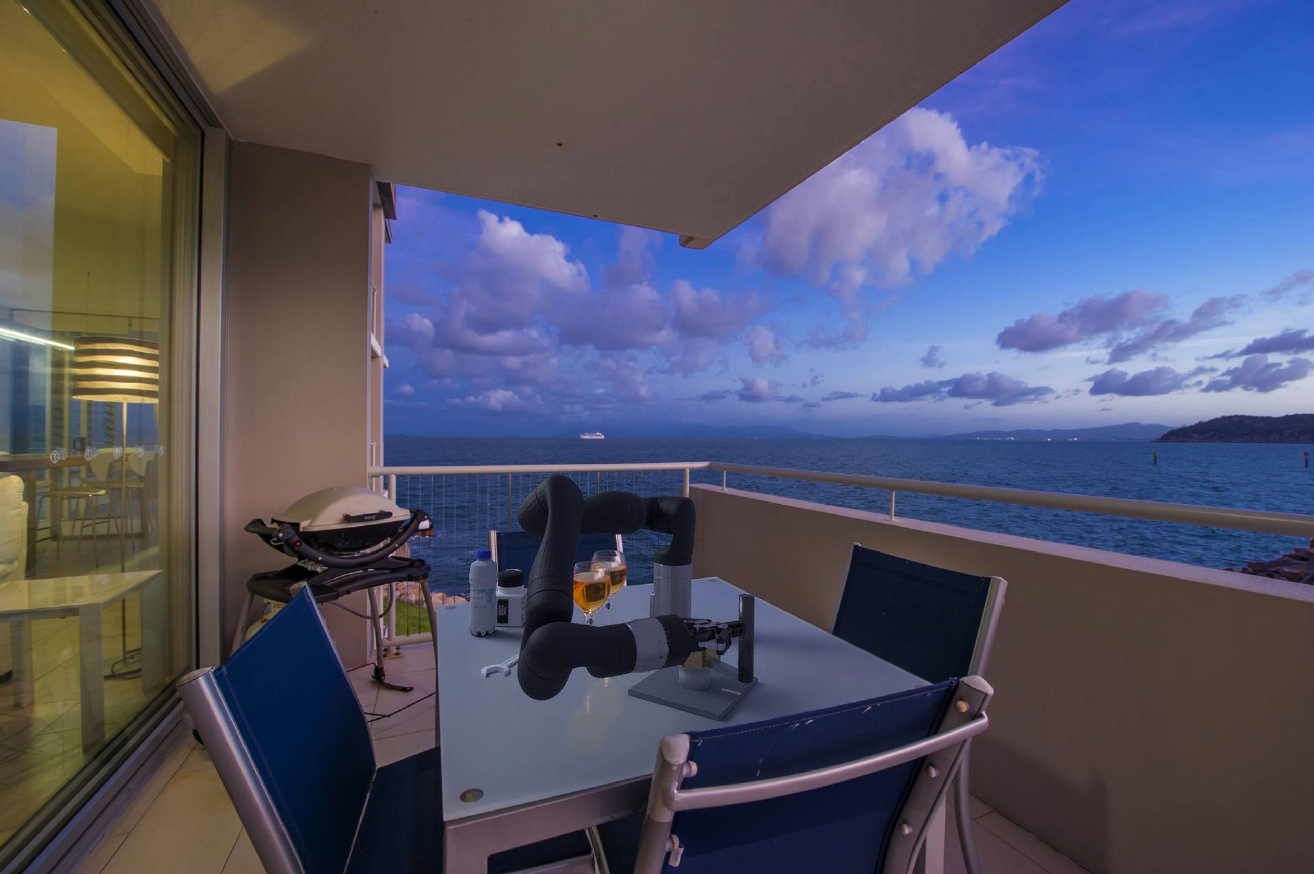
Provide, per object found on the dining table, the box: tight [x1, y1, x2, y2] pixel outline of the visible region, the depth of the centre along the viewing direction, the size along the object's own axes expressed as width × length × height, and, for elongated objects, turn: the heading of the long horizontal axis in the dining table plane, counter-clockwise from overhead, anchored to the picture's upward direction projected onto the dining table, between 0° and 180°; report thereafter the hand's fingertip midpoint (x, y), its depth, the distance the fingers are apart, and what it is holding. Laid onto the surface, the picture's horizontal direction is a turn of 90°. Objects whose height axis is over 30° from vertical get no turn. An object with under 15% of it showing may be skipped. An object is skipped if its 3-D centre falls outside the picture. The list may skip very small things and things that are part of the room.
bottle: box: [468, 548, 499, 637], centre depth 133 cm, size 7×7×20 cm
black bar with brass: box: [678, 593, 756, 685], centre depth 100 cm, size 19×9×15 cm, turn 36°
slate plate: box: [627, 666, 759, 722], centre depth 103 cm, size 18×18×9 cm
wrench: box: [480, 652, 520, 678], centre depth 119 cm, size 25×5×2 cm, turn 161°
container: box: [496, 568, 527, 627], centre depth 142 cm, size 8×8×13 cm
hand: (741, 627), depth 92 cm, fingers closed
